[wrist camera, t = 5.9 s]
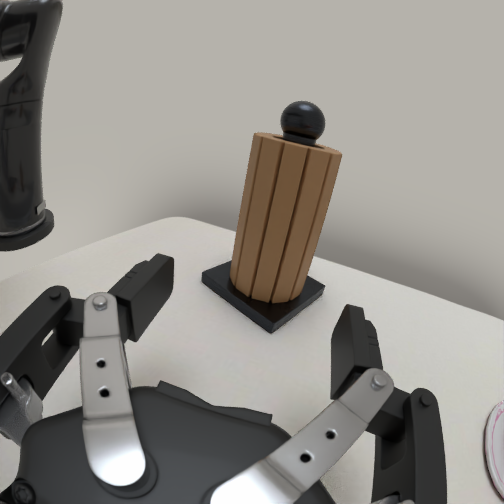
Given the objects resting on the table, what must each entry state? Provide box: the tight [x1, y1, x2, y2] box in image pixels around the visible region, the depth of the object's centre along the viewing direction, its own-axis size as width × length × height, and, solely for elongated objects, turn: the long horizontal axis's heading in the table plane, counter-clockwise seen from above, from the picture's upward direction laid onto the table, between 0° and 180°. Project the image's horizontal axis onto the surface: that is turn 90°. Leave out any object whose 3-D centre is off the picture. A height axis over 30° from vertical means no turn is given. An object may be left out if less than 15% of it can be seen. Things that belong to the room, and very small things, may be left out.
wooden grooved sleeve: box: [230, 133, 342, 303], centre depth 22 cm, size 6×6×12 cm
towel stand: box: [201, 101, 325, 333], centre depth 21 cm, size 8×8×16 cm
